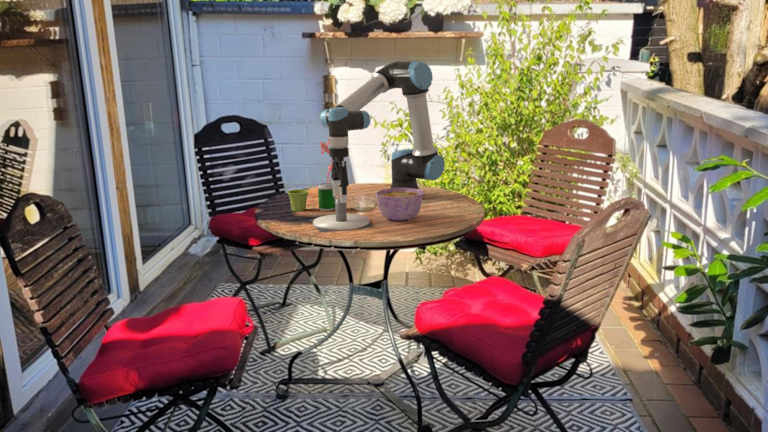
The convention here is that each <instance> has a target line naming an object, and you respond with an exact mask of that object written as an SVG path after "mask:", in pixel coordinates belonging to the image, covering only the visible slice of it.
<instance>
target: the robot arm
mask: <svg viewBox="0 0 768 432" xmlns="http://www.w3.org/2000/svg"><path fill="white" fill-rule="evenodd" d="M433 80H434V79H433V72H432V69H431V68H430V66H429V65H428V64H427V63H426V62H423V61H418V60H411V61H399V60H398V61H393V62H391V63H388V64H386V65H384V66H383V67H381V68H380V69H378V70H377V71H375V72H374V73H373V74H371V77H370V79H369V80H367V81H366V82H365V83H364V84H363V85H361V86H360V87H359V88H357V89H356V90H354V92H352V93H351V94H350V95H348V96H347V97H346V98H345V99H344V100H342V101H341V102H339V104H337V105H336V106H334V107H330V108H328V109H326V108H325V109H324V110H322V111H321V112H320V115H319V121H320V124H321V125H322V126H323V127H325V128H328V132H329V133H328V134H329V135H328V139H327V142H328V141H330V142H328V143H329V146H330V147H329V150H330V155H329V157H330V158H331V160H332V159H333V161H332V171H331V177H330V178H331V179H332V183H333V197H336V198H337V197H339V198H340V202H341V203H346V204H347V203H348V201H349V200H348V199H349V198H348V196H349V195H348V187H349V186H350V183H349V178H348V175H349V174H348V170H347V169H348V168H347V167H348V166H347V161H346V160H345V159H344V158H348V157H349V131H359V130H360V131H363V130H365V129H367V128H369V127H370V124H371V116H370V114H369V112H368V111H366V110H362V109H363V108H364V107H366V106H367V105H368V104H370V103H371V102H372V101H373V100H374V99H376V98H377V97H378V96H380V95H381V94H382V93H383V94H384V93H387V92H388V91H389V90H392V89H394V90H395V89H401V94H402V96H403V97H405V98H406V102H407V103H406V104H407V109H408V116H409V120H410V128H411V135H412V140H413V146H414V148H408V149H400V150H394V151H392V153H391V184H390V188H413V189H419V190H420V187H419V185H418V183H417V182H418V181H417V179H421V180H426V181H436V180H437V179H439V178H440V177H441V176H442V175H443V172H444V171H445V164H446V161H445V158H444V156H442V155H441V154H439V153H438V148H437V147H436V146H435V145H434V141H433V133H432V128H431V126H432V125H431V121H430V120H431V119H430V113H429V106H428V100H427V94H428V93H429V91H430V89H429V88H430V87H431V85H432V84H433V83H432V82H433ZM329 138H330V139H329Z"/></svg>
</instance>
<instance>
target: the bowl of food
mask: <svg viewBox="0 0 768 432" xmlns="http://www.w3.org/2000/svg"><path fill="white" fill-rule="evenodd" d="M375 196H376V201H377V204H378V208H379V212H380V213H381V215H382V216H384V217H385V218H387V219H388V220H392V221H399V222H400V221H403V222H404V221H410V220H411V219H413V218H415V217H416V216H418V215H419V213H420V210H421V205H422V201H423V197H424V191H423V190H421V189H420V188H419V189H413V188H384V189H380V190H377V191H375Z"/></svg>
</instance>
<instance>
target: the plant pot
mask: <svg viewBox="0 0 768 432" xmlns="http://www.w3.org/2000/svg"><path fill="white" fill-rule="evenodd" d="M286 193H287V194H288V197H289V201H290V209H291V211H292V212H296V213H302V212H304V211H306V209H307V199H308V194H309V190H308V189H291V190H288V191H287V192H286Z"/></svg>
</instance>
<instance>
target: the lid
mask: <svg viewBox="0 0 768 432" xmlns="http://www.w3.org/2000/svg"><path fill="white" fill-rule="evenodd" d="M335 207H336V209H335V214H334V213H333V214H328V215H322V216H318V217H316V218H313V219H314V220H313V223H312V225H313V227H315V228H316V229H317V228H319V229H324V230H340V231H352V230H357V229H358V228H362V227H365V226H367V225H369V224H370V223H371V220H370V218H369V217H368V216H366V215H361V214H353V213H347V203H341V202H340V197H336V199H335ZM362 229H363V228H362ZM358 230H359V229H358Z"/></svg>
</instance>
